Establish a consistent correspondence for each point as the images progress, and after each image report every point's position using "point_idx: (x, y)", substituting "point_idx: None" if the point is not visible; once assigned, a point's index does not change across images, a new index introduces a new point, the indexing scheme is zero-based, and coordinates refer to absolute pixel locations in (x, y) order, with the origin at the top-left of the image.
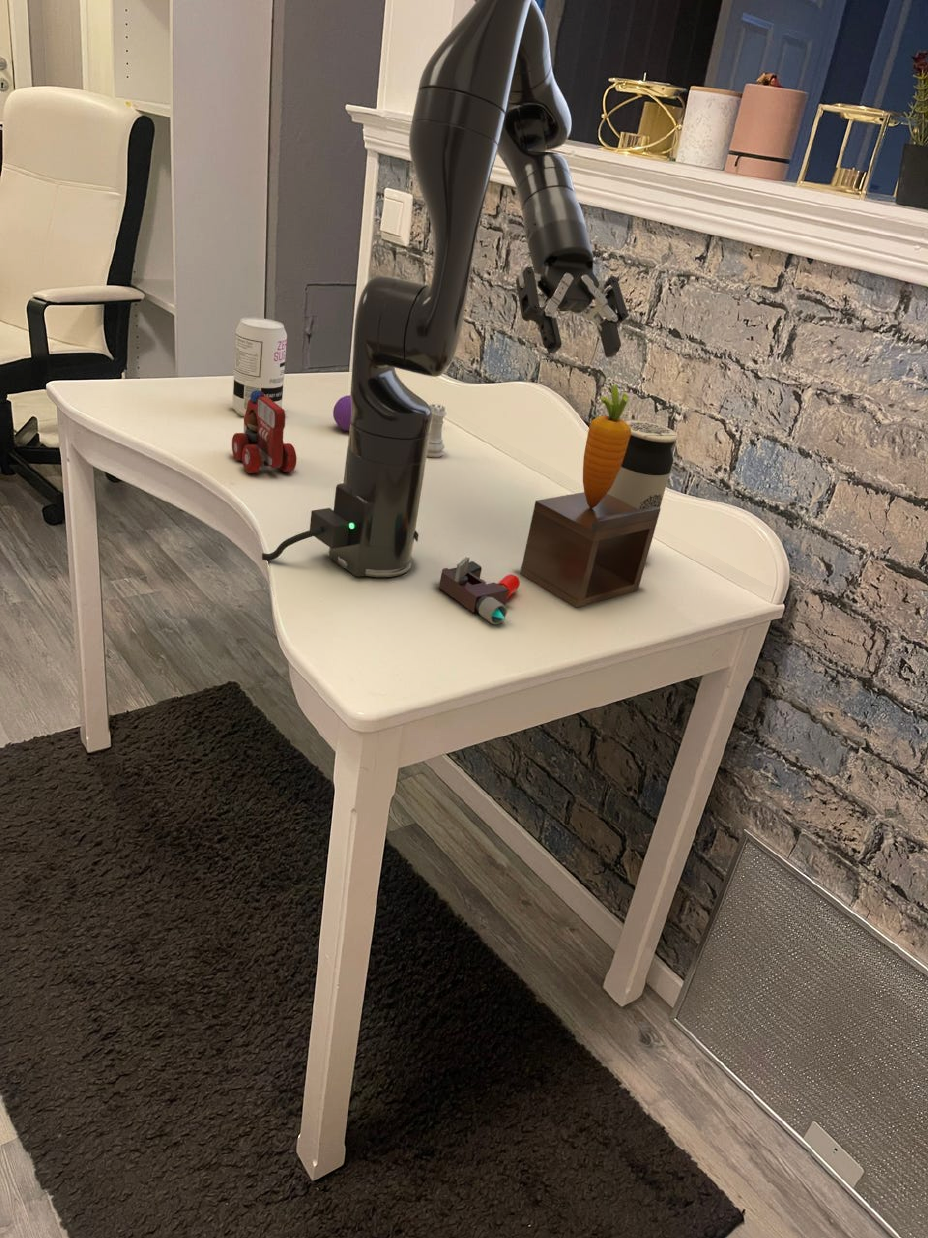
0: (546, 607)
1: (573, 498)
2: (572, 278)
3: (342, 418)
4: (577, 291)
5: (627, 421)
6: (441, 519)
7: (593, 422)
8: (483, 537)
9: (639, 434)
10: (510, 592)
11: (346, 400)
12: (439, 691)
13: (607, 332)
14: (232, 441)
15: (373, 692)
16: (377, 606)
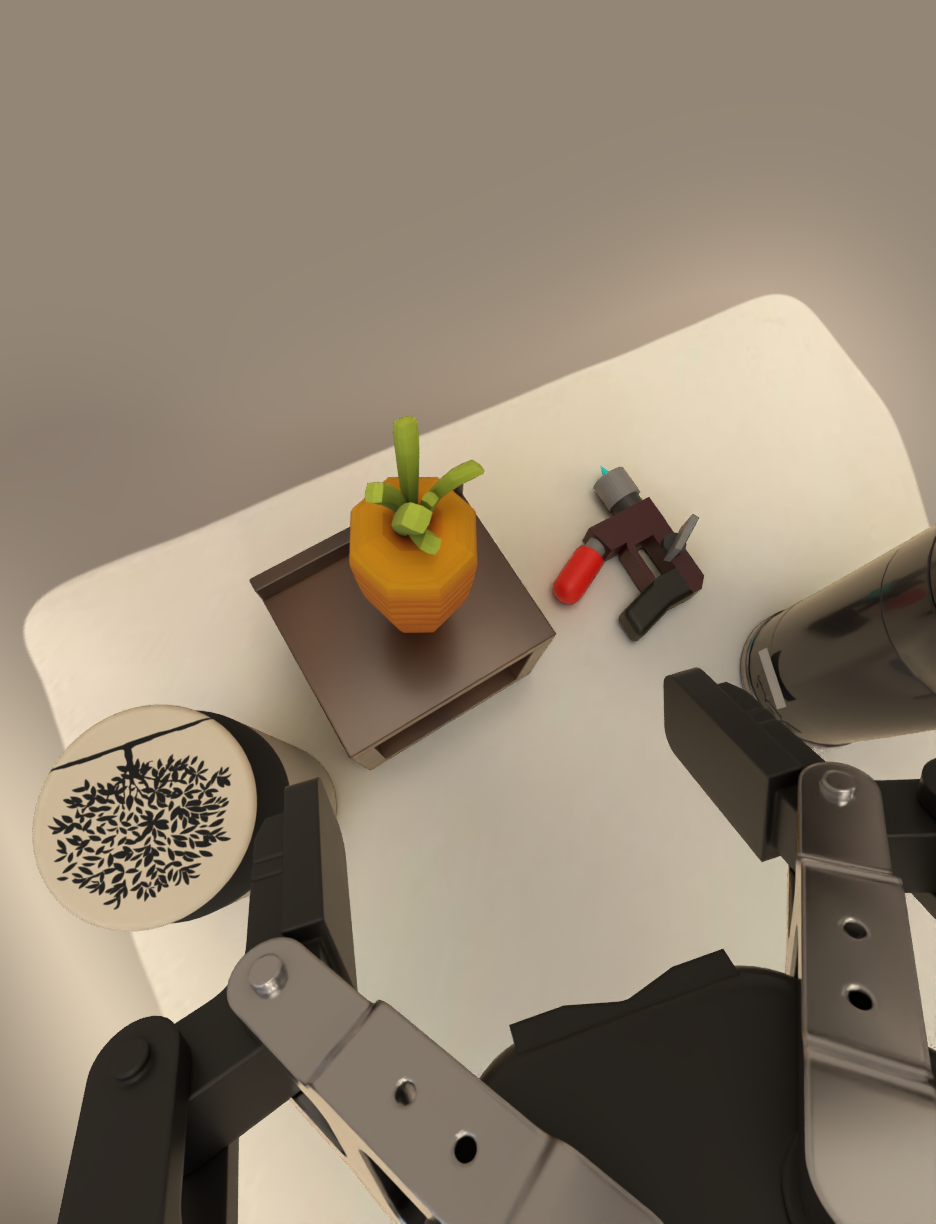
0: (507, 549)
1: (449, 671)
2: (815, 1181)
3: None
4: (660, 1117)
5: (203, 890)
6: (668, 932)
7: (474, 538)
8: (579, 842)
9: (225, 731)
10: (577, 548)
11: None
12: (700, 328)
13: (333, 898)
14: None
15: (779, 324)
16: (788, 521)
